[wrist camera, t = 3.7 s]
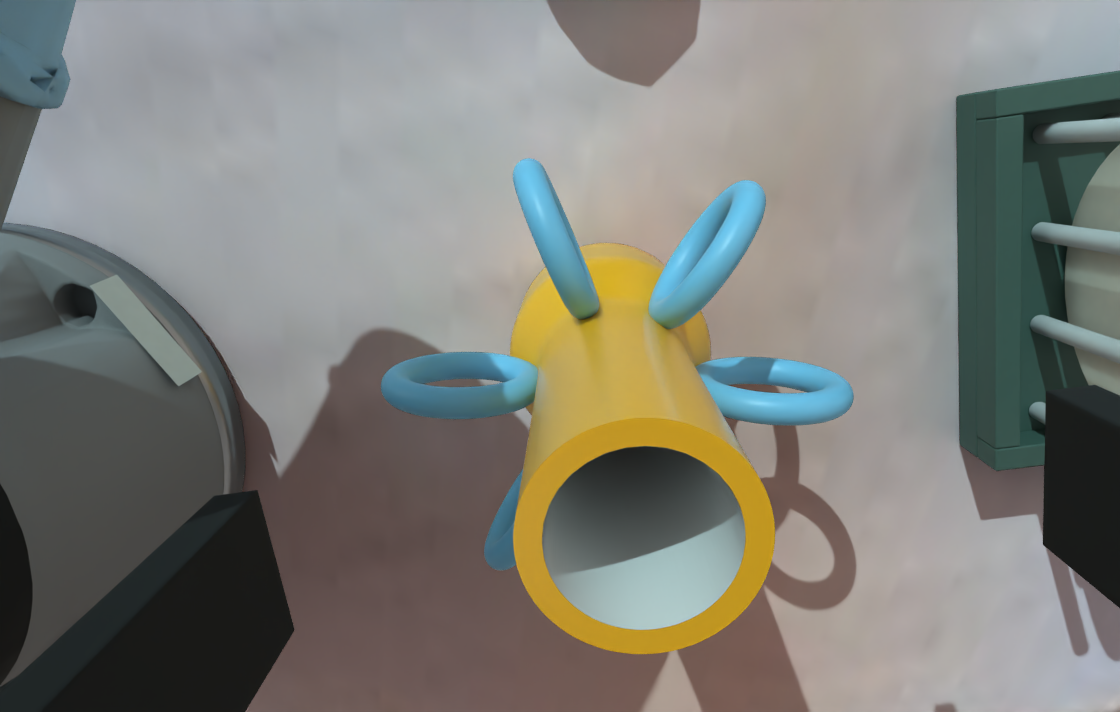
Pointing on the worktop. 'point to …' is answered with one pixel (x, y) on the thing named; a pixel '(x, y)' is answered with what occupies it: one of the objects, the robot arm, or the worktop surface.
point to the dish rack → (1035, 257)
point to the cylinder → (629, 430)
